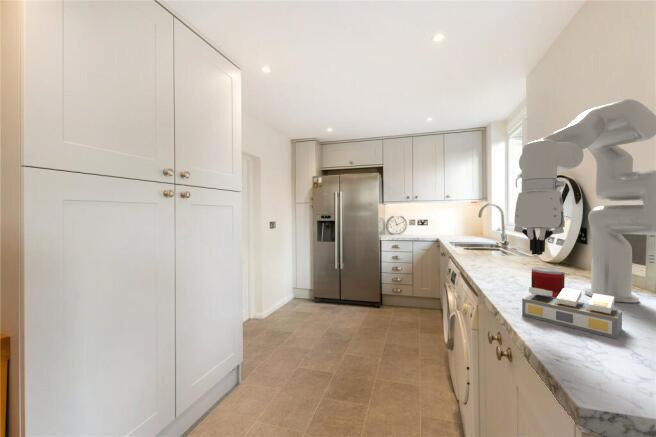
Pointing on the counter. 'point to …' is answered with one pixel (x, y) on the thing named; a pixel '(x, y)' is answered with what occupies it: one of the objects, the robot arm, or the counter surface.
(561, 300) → the rocker
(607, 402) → the counter surface
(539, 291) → the rocker
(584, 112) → the robot arm
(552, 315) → the switch unit
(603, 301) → the rocker
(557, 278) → the canned food
